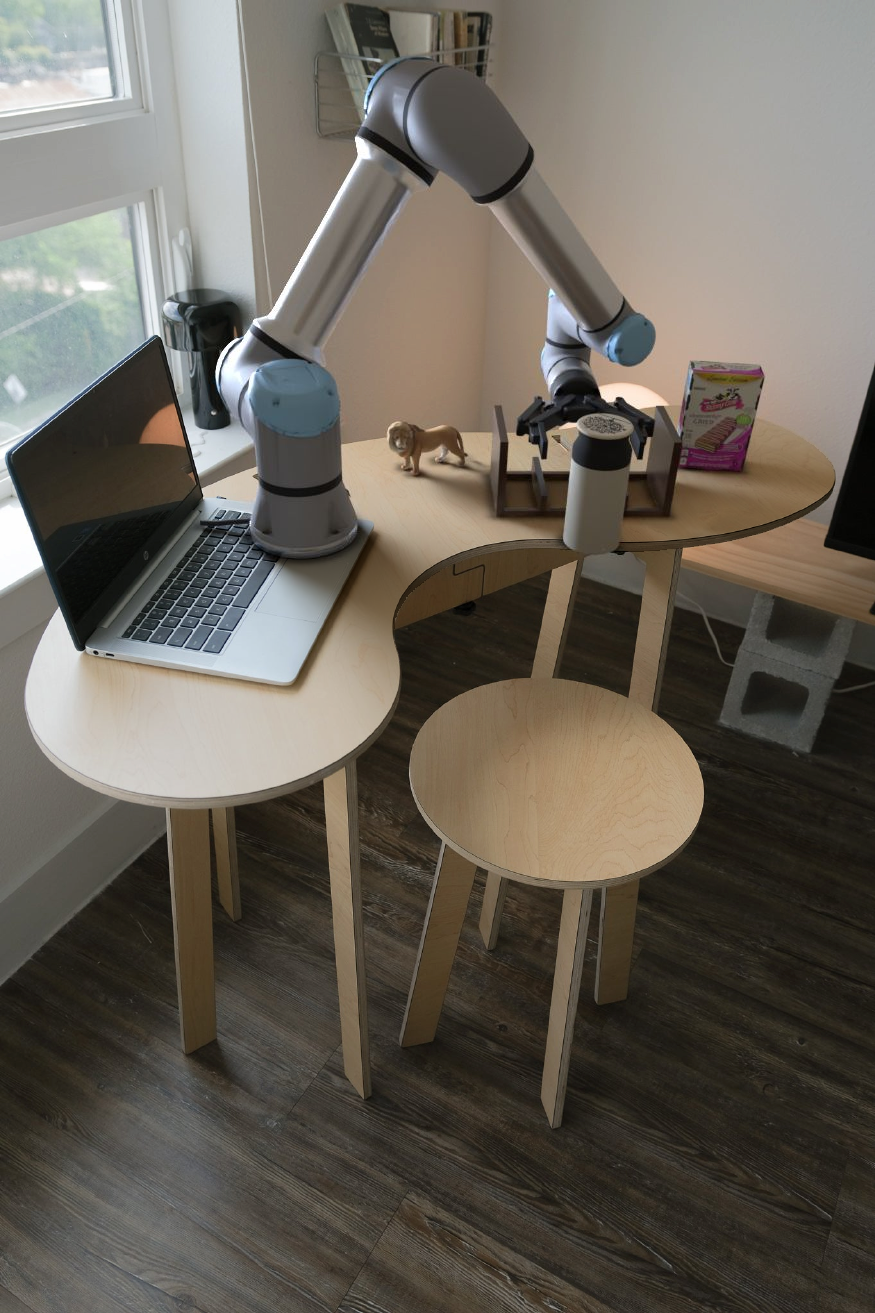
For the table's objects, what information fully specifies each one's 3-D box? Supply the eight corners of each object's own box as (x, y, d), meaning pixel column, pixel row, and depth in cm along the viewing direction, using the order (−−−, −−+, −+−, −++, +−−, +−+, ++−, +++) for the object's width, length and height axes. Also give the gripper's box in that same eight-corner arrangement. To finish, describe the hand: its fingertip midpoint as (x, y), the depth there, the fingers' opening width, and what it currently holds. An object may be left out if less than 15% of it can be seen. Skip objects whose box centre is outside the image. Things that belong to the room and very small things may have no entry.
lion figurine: (396, 485, 156) (396, 431, 151) (380, 471, 160) (379, 418, 154) (475, 464, 162) (478, 411, 157) (458, 451, 166) (459, 399, 161)
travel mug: (593, 563, 139) (609, 442, 128) (551, 540, 143) (562, 422, 132) (630, 543, 143) (648, 425, 132) (587, 522, 148) (601, 407, 137)
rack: (496, 516, 149) (500, 441, 141) (490, 476, 159) (493, 404, 152) (669, 516, 149) (682, 442, 142) (652, 476, 160) (663, 405, 152)
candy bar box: (674, 469, 162) (691, 370, 152) (671, 455, 166) (688, 359, 156) (744, 473, 161) (766, 374, 151) (740, 459, 165) (761, 362, 155)
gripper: (649, 414, 160) (677, 475, 143) (493, 413, 159) (503, 474, 142) (656, 368, 155) (685, 426, 138) (495, 367, 155) (505, 425, 138)
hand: (593, 450), depth 140 cm, fingers open, 13 cm apart
